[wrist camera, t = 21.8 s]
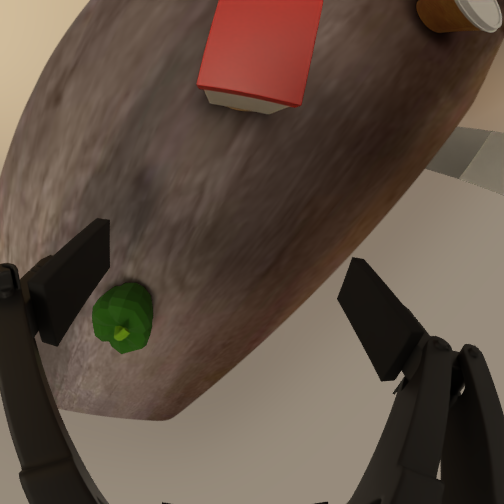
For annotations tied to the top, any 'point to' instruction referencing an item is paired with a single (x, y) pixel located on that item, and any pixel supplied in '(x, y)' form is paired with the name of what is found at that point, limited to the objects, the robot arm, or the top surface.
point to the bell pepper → (124, 317)
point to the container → (259, 53)
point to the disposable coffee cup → (460, 15)
